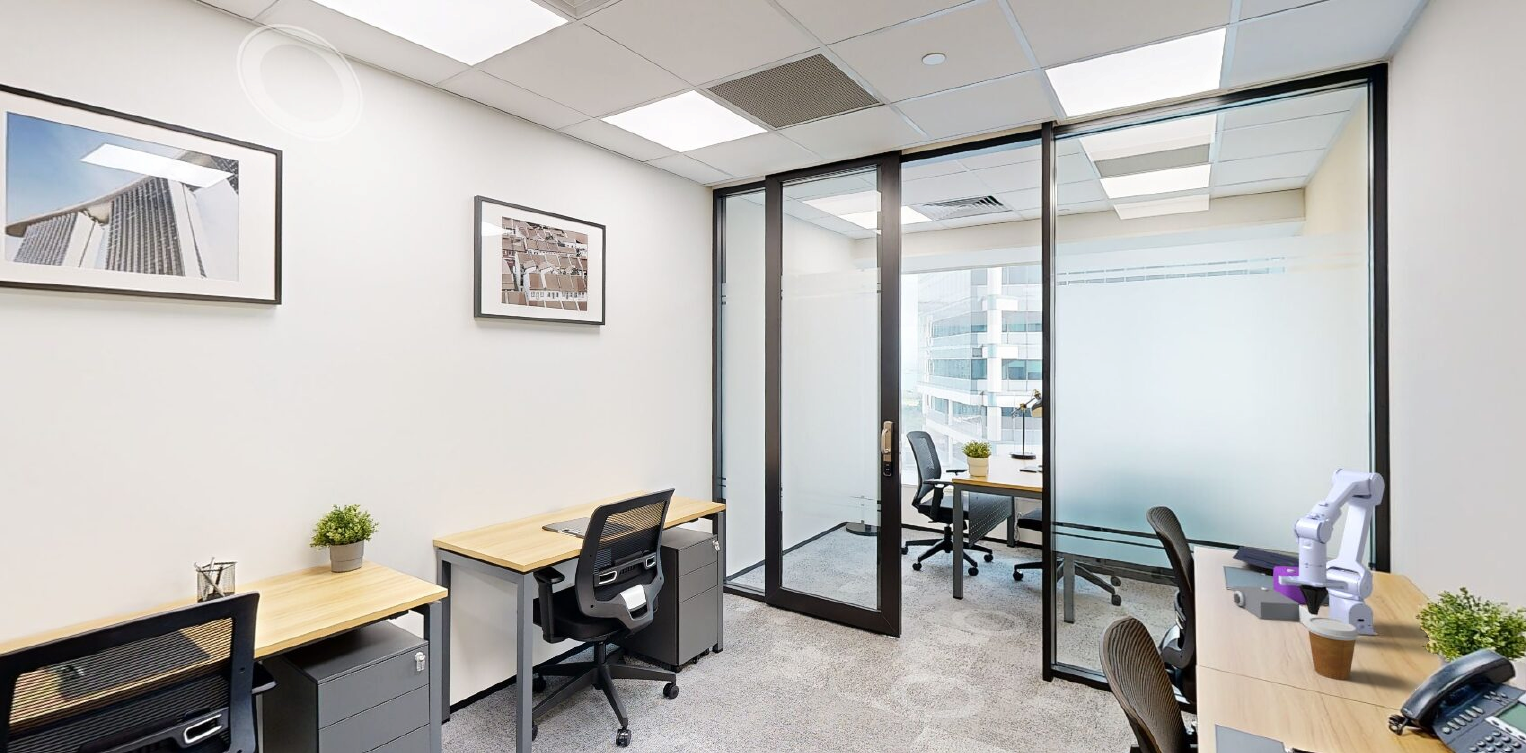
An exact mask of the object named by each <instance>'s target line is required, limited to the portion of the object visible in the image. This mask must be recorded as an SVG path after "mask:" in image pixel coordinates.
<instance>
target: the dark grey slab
mask: <svg viewBox="0 0 1526 753" xmlns="http://www.w3.org/2000/svg"><path fill="white" fill-rule="evenodd" d="M1232 559H1234V560H1238V561H1241V562H1243V563H1246V564H1251V565H1254V566H1257V567H1261V568H1264V569H1268V570H1269V569H1270V570H1274V567H1276V566H1287V567H1299V557H1295V556H1291V555H1285V554H1282V553H1278V552H1274V551H1273V552H1272V551H1268V550H1265V549H1264V550H1261V549H1258V548H1254V547H1251V548H1249V547H1245V546H1242V545H1239V548H1238V549H1237V551H1236V552H1235V554H1234V555H1233V557H1232Z"/></svg>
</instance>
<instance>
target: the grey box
mask: <svg viewBox="0 0 1526 753" xmlns="http://www.w3.org/2000/svg"><path fill="white" fill-rule="evenodd" d="M1233 602H1234V603H1235V605H1236V606H1238V607H1241V608H1243V609H1244V610H1246V611H1248V612H1249V613H1250V614H1251V615H1253V616H1255V617H1256V618H1258V619H1259V620H1264V621H1265V620H1267V621H1268V620H1271V621H1292V622H1300V606H1302V607H1304V606H1303V605H1302V604H1300V603H1297V602H1295V601H1293V600H1292V599H1290V598H1288V597H1286V596H1284V595H1283V594H1281V593H1279V592H1277V591H1275V590H1274V588H1272V587H1268V586H1243V585H1242V586H1240V585H1234V586H1233Z"/></svg>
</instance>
